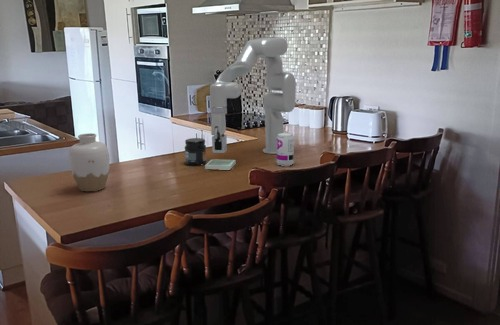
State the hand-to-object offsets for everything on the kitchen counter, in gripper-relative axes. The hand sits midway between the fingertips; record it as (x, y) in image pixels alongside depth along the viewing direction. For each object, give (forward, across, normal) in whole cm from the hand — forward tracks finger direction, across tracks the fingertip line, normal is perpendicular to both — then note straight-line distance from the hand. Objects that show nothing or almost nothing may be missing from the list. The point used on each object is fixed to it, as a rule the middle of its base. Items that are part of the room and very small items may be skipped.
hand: (219, 148), depth 230 cm
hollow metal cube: (+2, 0, 0) cm, 2 cm away
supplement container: (+10, -6, -14) cm, 18 cm away
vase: (+10, +40, -45) cm, 61 cm away
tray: (+10, 0, 0) cm, 10 cm away
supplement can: (+10, -9, +30) cm, 33 cm away
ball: (-6, 0, 0) cm, 6 cm away
